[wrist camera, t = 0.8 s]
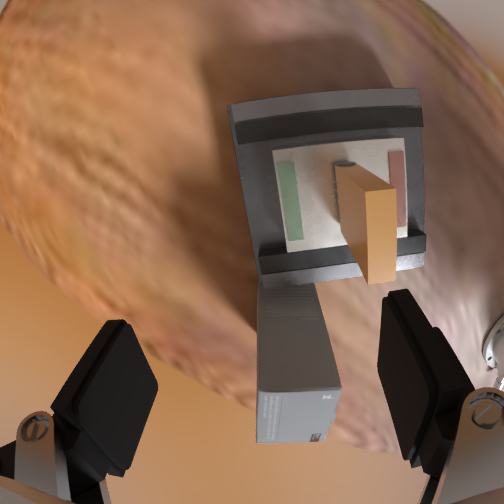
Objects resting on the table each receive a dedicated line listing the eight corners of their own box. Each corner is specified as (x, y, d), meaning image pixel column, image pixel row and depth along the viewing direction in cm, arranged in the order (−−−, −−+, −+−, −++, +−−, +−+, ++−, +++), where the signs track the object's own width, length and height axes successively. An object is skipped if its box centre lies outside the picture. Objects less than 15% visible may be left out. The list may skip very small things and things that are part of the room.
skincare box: (257, 278, 36) (246, 386, 21) (322, 280, 35) (347, 386, 21) (256, 338, 39) (246, 446, 25) (314, 339, 39) (327, 446, 24)
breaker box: (404, 240, 33) (435, 275, 25) (261, 259, 35) (257, 301, 27) (395, 91, 26) (432, 86, 19) (234, 107, 28) (220, 103, 21)
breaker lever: (359, 227, 24) (395, 282, 16) (339, 230, 24) (368, 286, 16) (354, 160, 22) (395, 186, 14) (333, 162, 22) (364, 189, 14)
